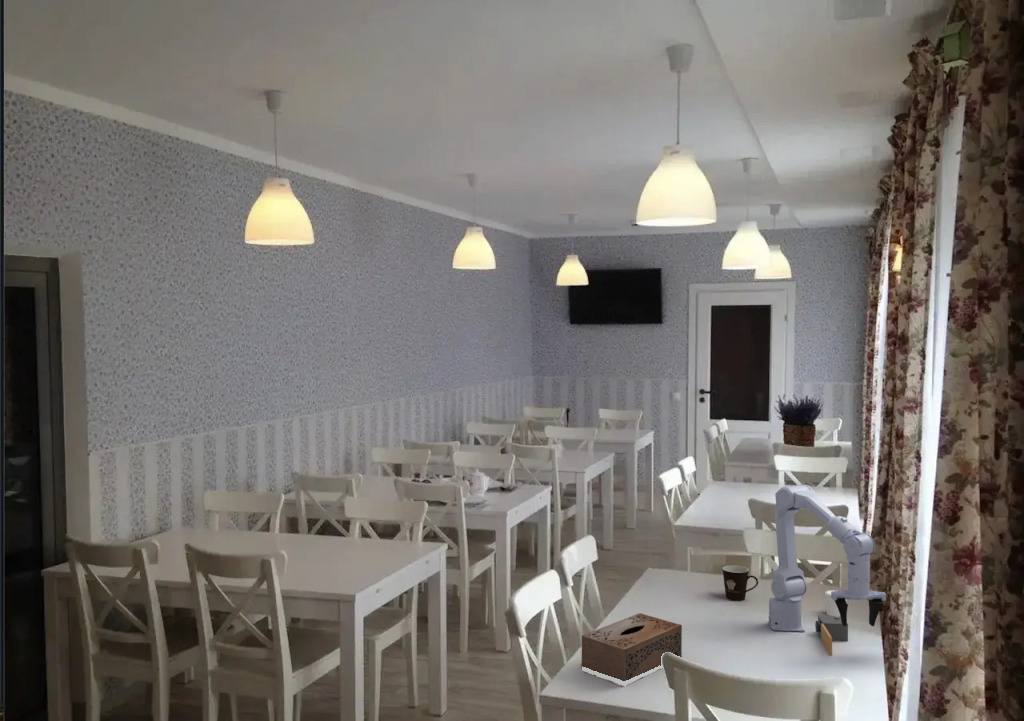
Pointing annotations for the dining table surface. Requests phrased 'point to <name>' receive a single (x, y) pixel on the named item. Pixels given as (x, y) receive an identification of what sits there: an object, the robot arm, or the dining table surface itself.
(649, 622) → the tissue box cover
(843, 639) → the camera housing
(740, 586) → the coffee mug
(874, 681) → the dining table surface
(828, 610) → the white cup
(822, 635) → the side door
